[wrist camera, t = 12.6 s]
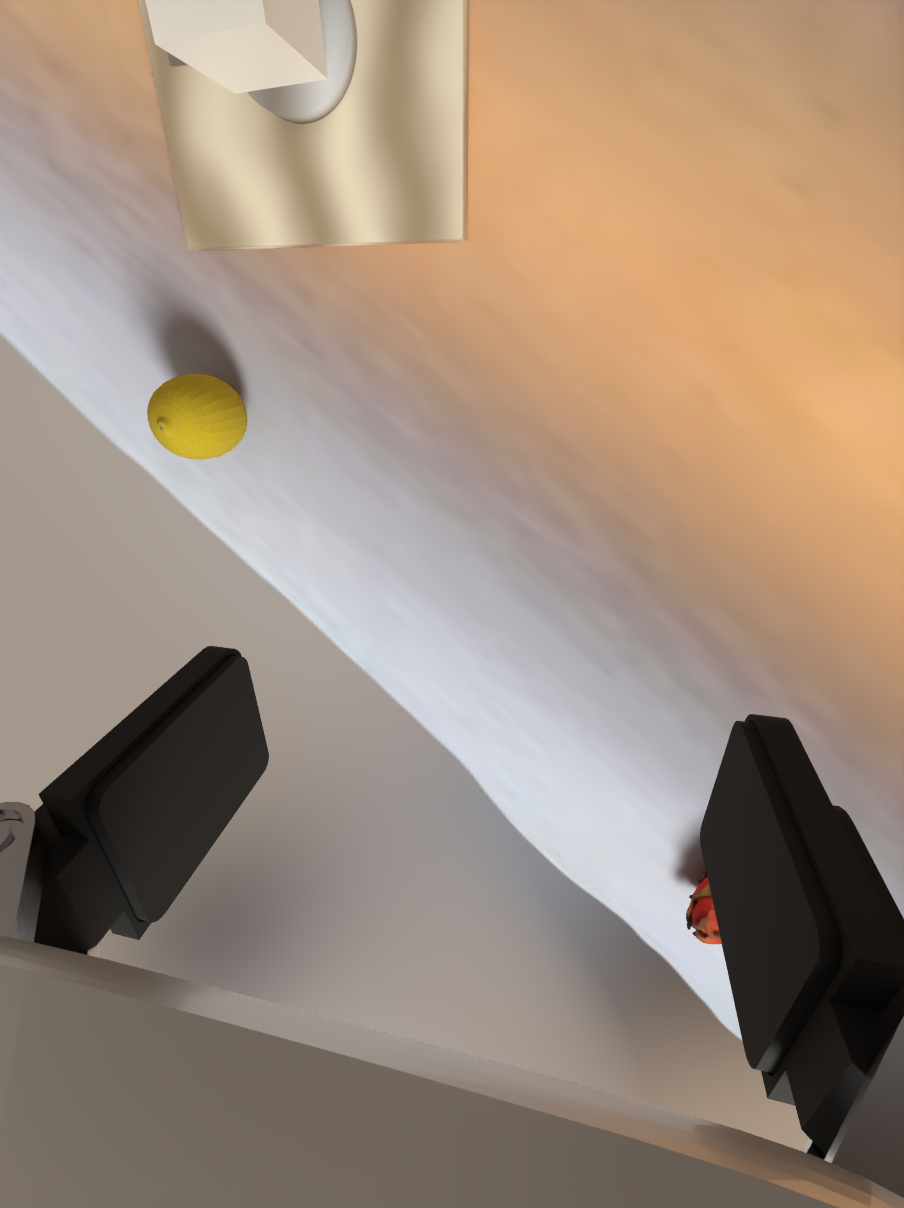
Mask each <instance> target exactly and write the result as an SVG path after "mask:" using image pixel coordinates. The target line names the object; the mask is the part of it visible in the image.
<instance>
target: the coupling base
mask: <svg viewBox="0 0 904 1208" xmlns="http://www.w3.org/2000/svg"><path fill="white" fill-rule="evenodd" d="M138 3H139V8H140V13H141V18H142V23H143V28H144V33H145V38H146V42H147V47H148V52H149V57H150V62H151V67H152V72H153V77H154V82H155V87H156V92H157V97H158V101H159V106H160V111H161V116H162V121H163V126H164V131H165V136H166V141H167V146H168V151H169V156H170V161H171V165H172V170H173V175H174V180H175V185H176V190H177V195H178V200H179V205H180V210H181V215H182V220H183V224H184V229H185V234H186V239H187V244H188V248H189V249H195V250H202V251H207V250H236V249H266V248H295V247H325V246H354V245H383V244H413V243H442V242H467V226H468V48H469V0H319V8H320V17H321V25H322V34H323V42H324V51H325V60H326V68H327V77H328V79H326V80H319V81H313V82H307V83H300V84H294V85H288V86H281V87H275V88H269V89H262V90H256V91H250V92H243V93H237V94H234V93H233V92H231V91H230V90H228V89H226V88H225V87H223V86H222V85H220V84H218V83H217V82H215V81H213V80H212V79H210V78H209V77H207V76H205V75H204V74H202V73H201V72H199V71H197V70H196V69H194V68H193V67H191V66H189V65H188V64H186V63H184V62H183V61H181V60H180V59H178V58H176V57H175V56H173V55H172V54H170V53H168V52H167V51H165V50H164V49H162V48H160V47H159V46H157V45H155V42H154V38H153V33H152V29H151V24H150V20H149V15H148V11H147V6H146V2H145V0H138Z"/></svg>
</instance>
